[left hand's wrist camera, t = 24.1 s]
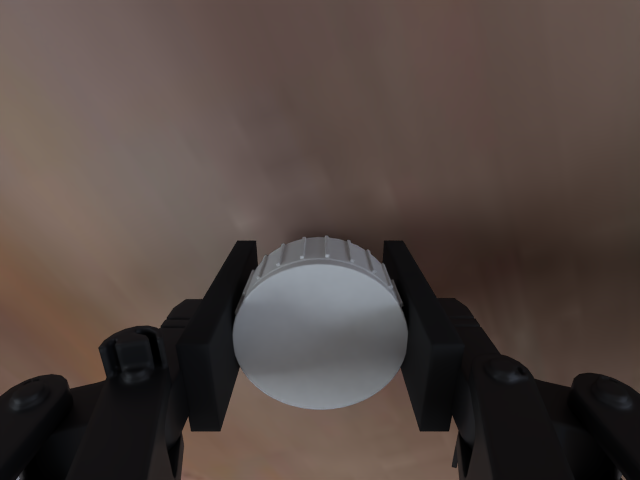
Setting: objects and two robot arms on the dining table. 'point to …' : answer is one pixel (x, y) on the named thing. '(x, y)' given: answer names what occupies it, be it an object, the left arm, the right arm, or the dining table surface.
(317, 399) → the lid
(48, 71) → the dining table surface
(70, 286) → the dining table surface
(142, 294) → the dining table surface
